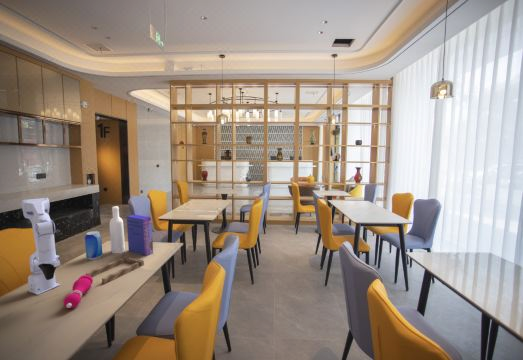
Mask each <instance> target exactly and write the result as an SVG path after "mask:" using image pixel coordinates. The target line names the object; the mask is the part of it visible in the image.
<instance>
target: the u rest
mask: <svg viewBox="0 0 523 360" xmlns="http://www.w3.org/2000/svg"><path fill="white" fill-rule="evenodd" d="M144 261H145V260H144V259H138V258H135V257H130V256H127V255H126V256H123V257H122V258H119V259H116V260H113V261H112V262H109V263H107V264H105V265H102V266H100V267H98V268H95V269H93V270H90V271H87V272H85V275H89V276H91V277H92V278H93V277H95V276H97V275H100V274H102V273H104V272H106V271H109V270H111V269H113V268H115V267H116V268H117V267H118V266H120V265H122V264H124V263H126V264H130V265H128V266H125V267H123V268H122V269H121V268H120V269H119V270H117V271H115V272H112V273H110V274H109V275H107V276H106V275H105V276H104V277H102V278H101V283H102V284H104V285H105V284H107V283H109V282H112V281H113V280H115V279H116V280H117V279H118V278H119V277H122V276H124V275H125V274H128V273H131V271H135V270H136V269H139V268H140V267H142V266H144V265H145V262H144Z"/></svg>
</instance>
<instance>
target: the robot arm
mask: <svg viewBox="0 0 523 360" xmlns="http://www.w3.org/2000/svg"><path fill="white" fill-rule="evenodd" d="M21 209H22V213H23V217H24V219H28V220H29V221H30V222H31V227H32V234H33V240H34V245H35V251H34V252H33V253H32V254H31V255H29V268H30V269H29V270H30V272H31V274H30V275H28V277H27V283H28V291H27V292H29V293H32V294H34V295H40V294H42V293H45V292H47V291H49V290H52V289H54V288H57V287H60V286H61V284H60V283H57V282H56V273H55V272H56V269H57V267H59V266H61V261H60V260H59V258H60V255H58V254H57V253H56V251H57V250H56V242H55V241H56V240H55V233H56V225H55V222H54V220H53V219H51V217H50V214H49V213H50V200H49V198H48V197H41V198H33V199H30V198H29V199H23V200H21Z"/></svg>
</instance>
